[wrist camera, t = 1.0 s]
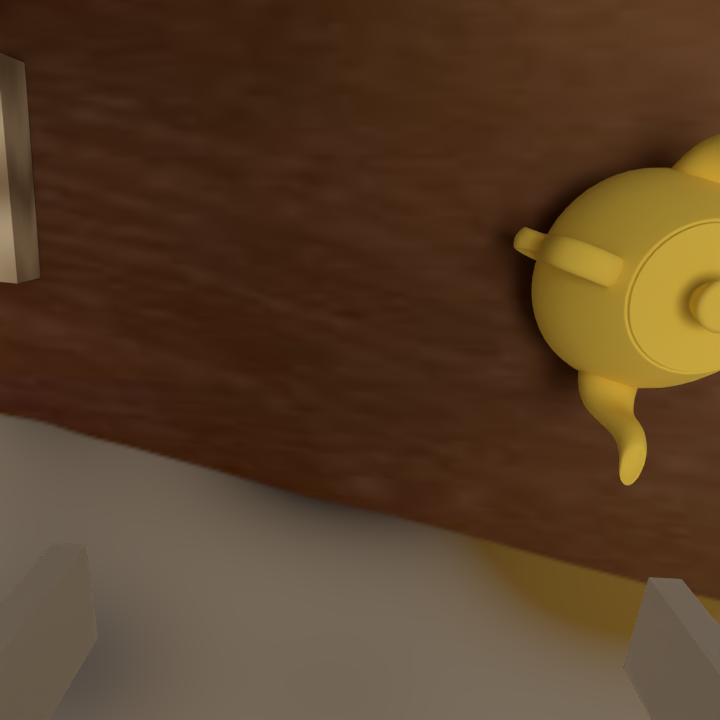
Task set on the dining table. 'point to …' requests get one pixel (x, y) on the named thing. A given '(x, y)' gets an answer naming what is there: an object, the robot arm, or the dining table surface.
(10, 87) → the trivet
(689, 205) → the teapot
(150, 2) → the dining table surface
